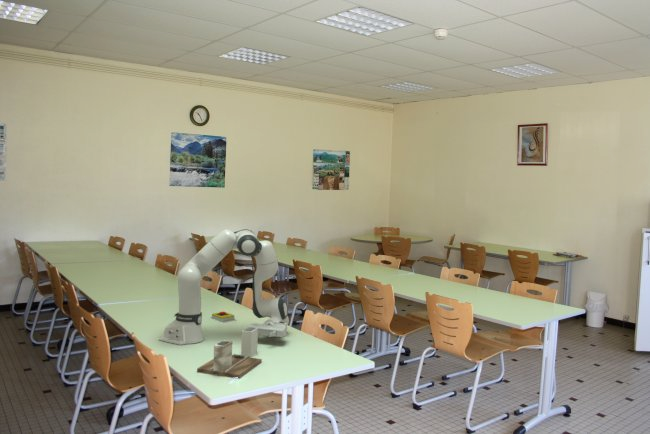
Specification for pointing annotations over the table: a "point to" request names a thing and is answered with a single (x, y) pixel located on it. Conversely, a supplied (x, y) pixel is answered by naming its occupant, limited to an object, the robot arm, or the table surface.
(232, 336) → the table surface
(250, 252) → the robot arm
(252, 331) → the grey module block
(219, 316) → the emergency button
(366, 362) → the table surface
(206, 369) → the rail board
